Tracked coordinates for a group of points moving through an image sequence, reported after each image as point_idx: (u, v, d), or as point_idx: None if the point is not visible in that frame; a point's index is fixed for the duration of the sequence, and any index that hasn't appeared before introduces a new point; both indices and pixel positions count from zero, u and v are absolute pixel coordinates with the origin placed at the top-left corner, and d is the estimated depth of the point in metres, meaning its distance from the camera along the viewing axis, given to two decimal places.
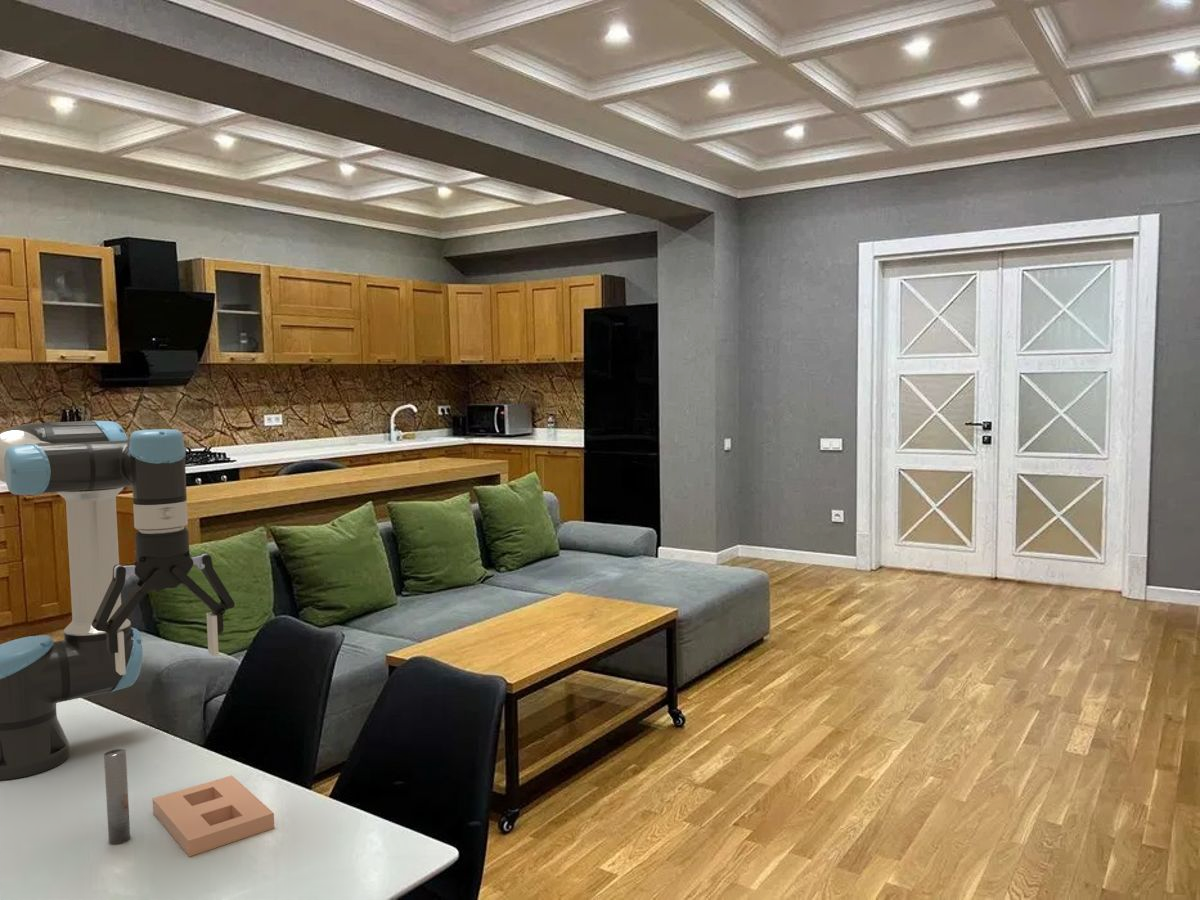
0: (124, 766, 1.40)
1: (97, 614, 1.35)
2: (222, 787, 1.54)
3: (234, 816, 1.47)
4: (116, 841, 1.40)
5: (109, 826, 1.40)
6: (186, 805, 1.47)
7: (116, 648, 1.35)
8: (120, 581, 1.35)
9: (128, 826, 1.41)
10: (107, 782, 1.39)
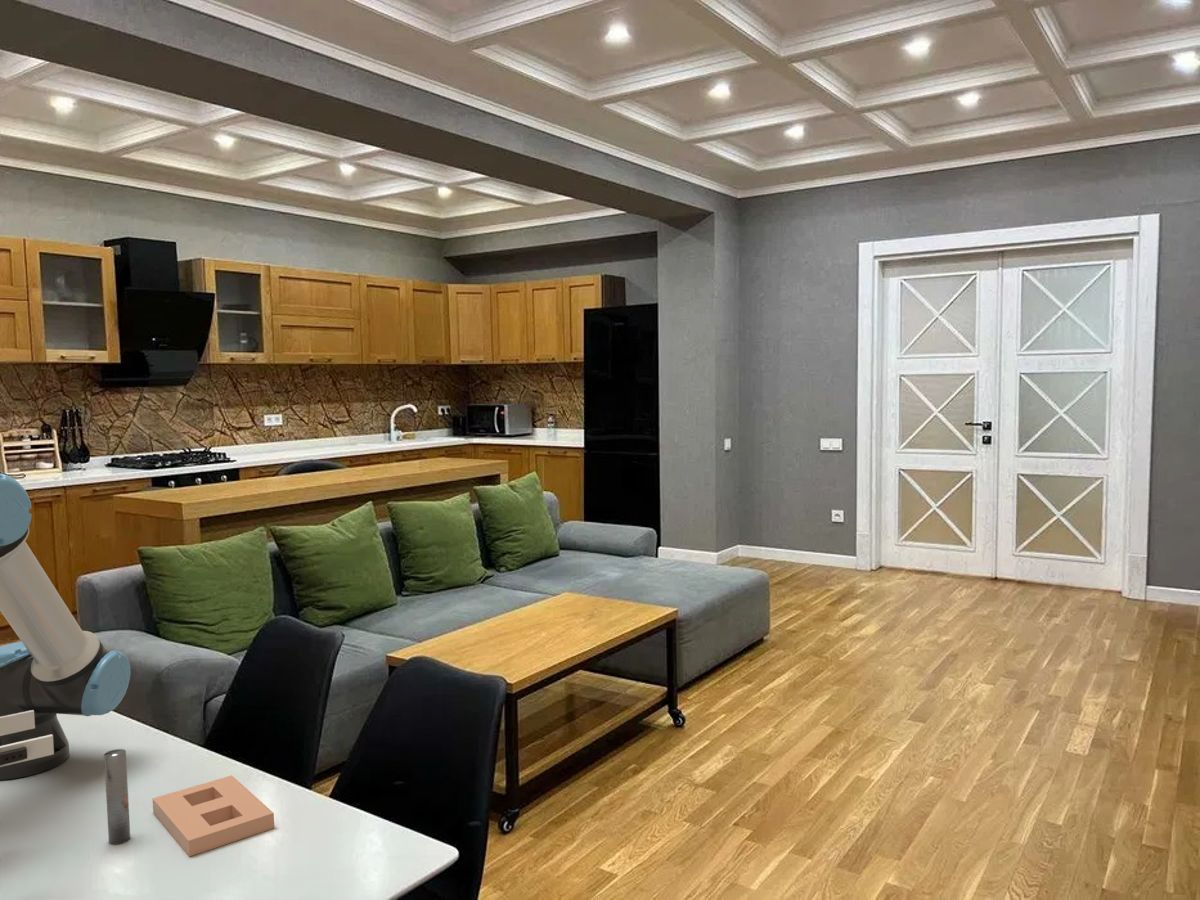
0: (124, 766, 1.40)
1: None
2: (222, 787, 1.54)
3: (234, 816, 1.47)
4: (116, 841, 1.40)
5: (109, 826, 1.40)
6: (186, 805, 1.47)
7: None
8: None
9: (128, 826, 1.41)
10: (107, 782, 1.39)
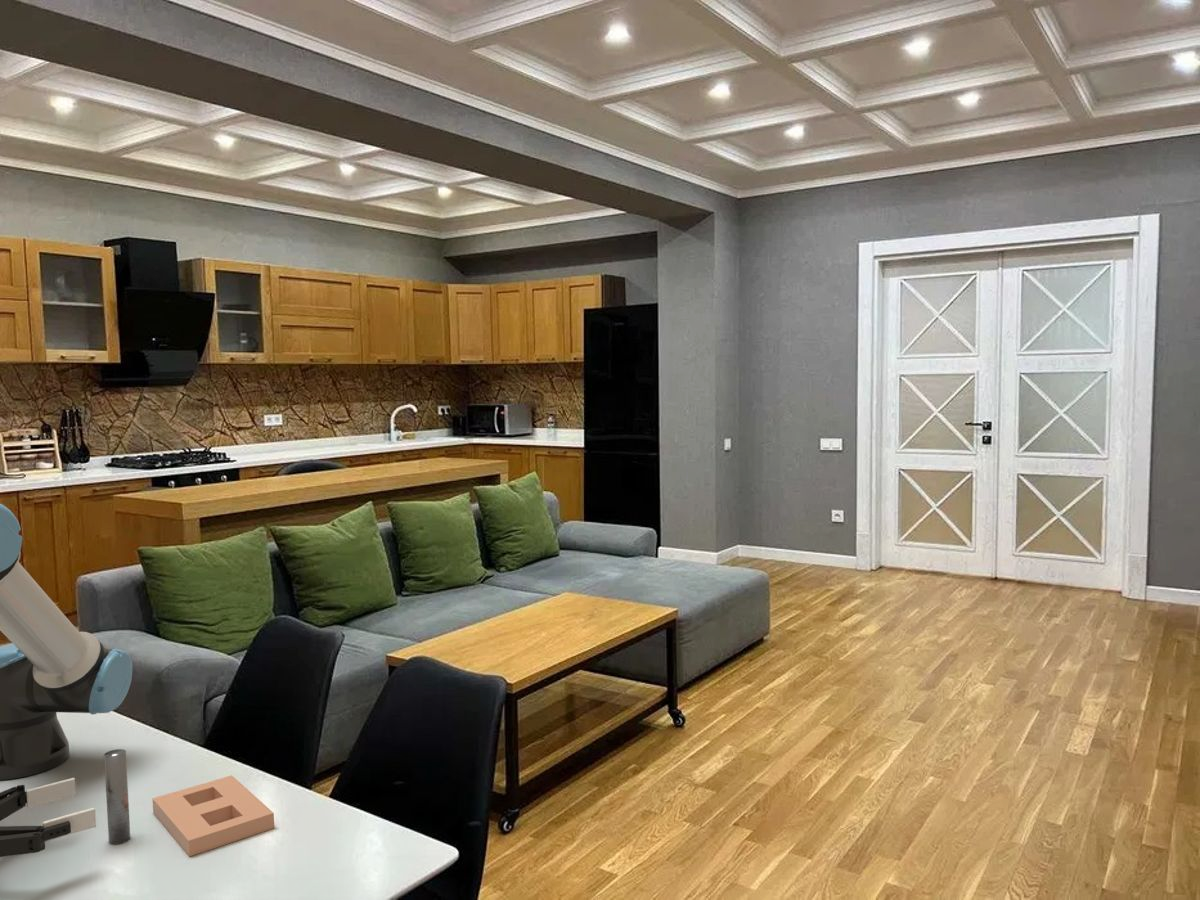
0: (124, 766, 1.40)
1: None
2: (222, 787, 1.54)
3: (234, 816, 1.47)
4: (116, 841, 1.40)
5: (109, 826, 1.40)
6: (186, 805, 1.47)
7: None
8: None
9: (128, 826, 1.41)
10: (107, 782, 1.39)
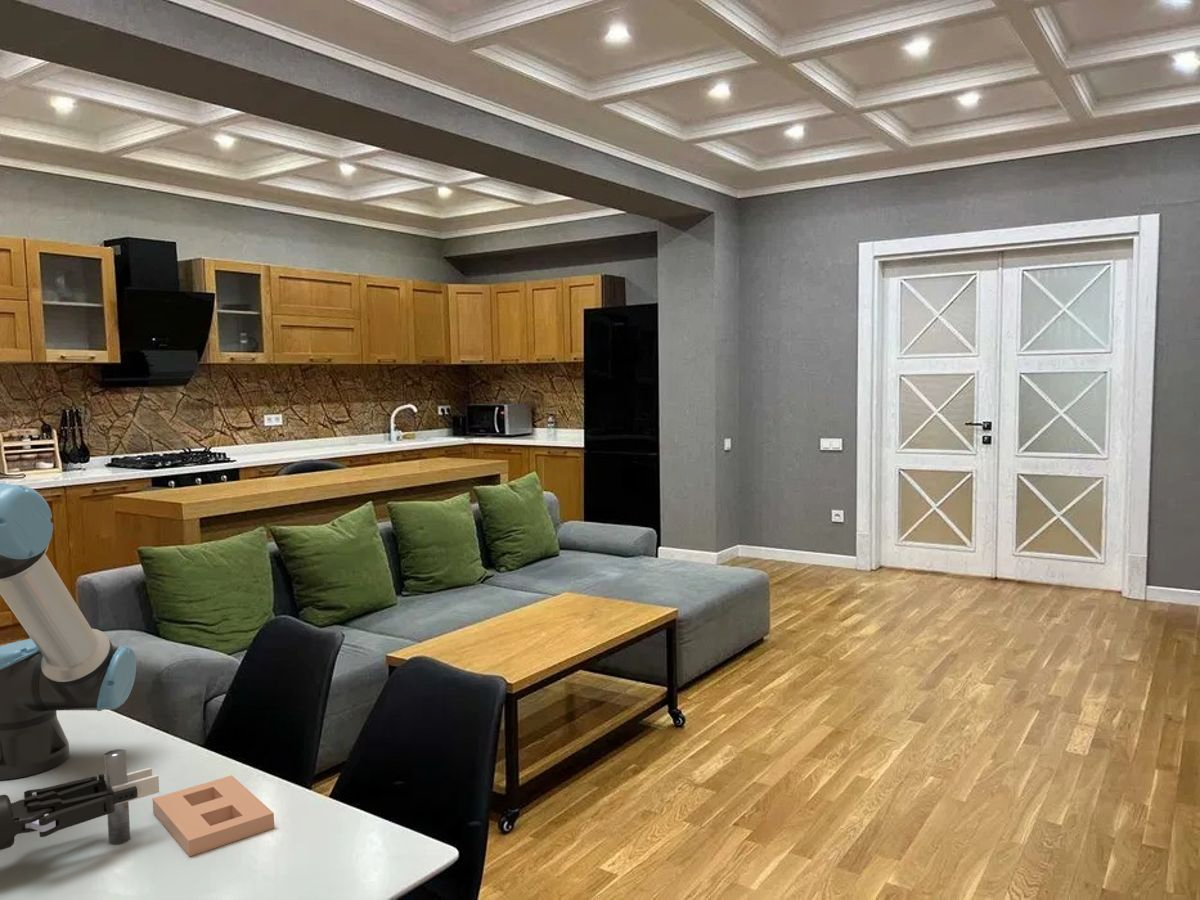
0: (124, 766, 1.40)
1: None
2: (222, 787, 1.54)
3: (234, 816, 1.47)
4: (116, 841, 1.40)
5: (109, 826, 1.40)
6: (186, 805, 1.47)
7: None
8: None
9: (128, 826, 1.41)
10: (107, 782, 1.39)
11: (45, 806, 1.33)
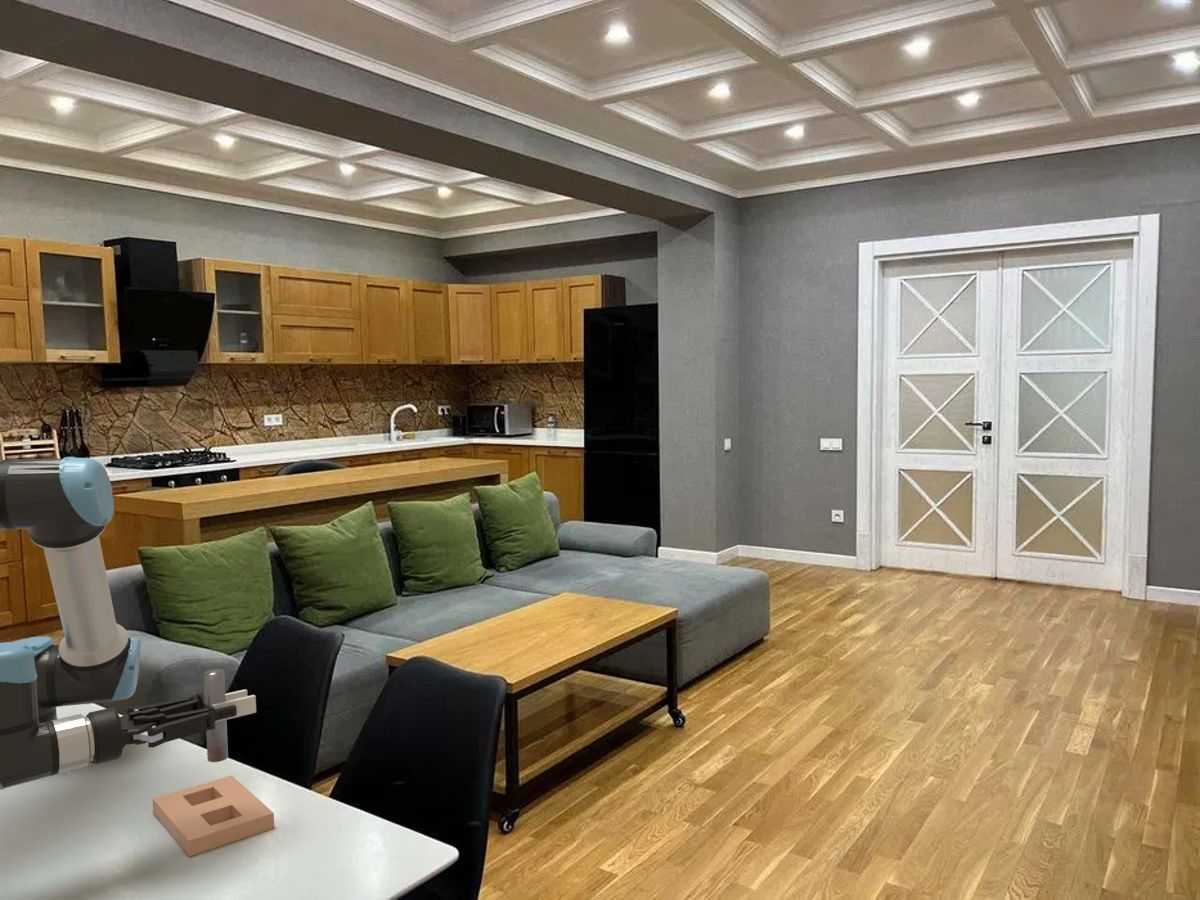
0: (223, 685, 1.42)
1: None
2: (222, 787, 1.54)
3: (234, 816, 1.47)
4: (215, 759, 1.41)
5: (208, 744, 1.41)
6: (186, 805, 1.47)
7: None
8: None
9: (226, 745, 1.43)
10: (207, 700, 1.41)
11: (150, 720, 1.34)
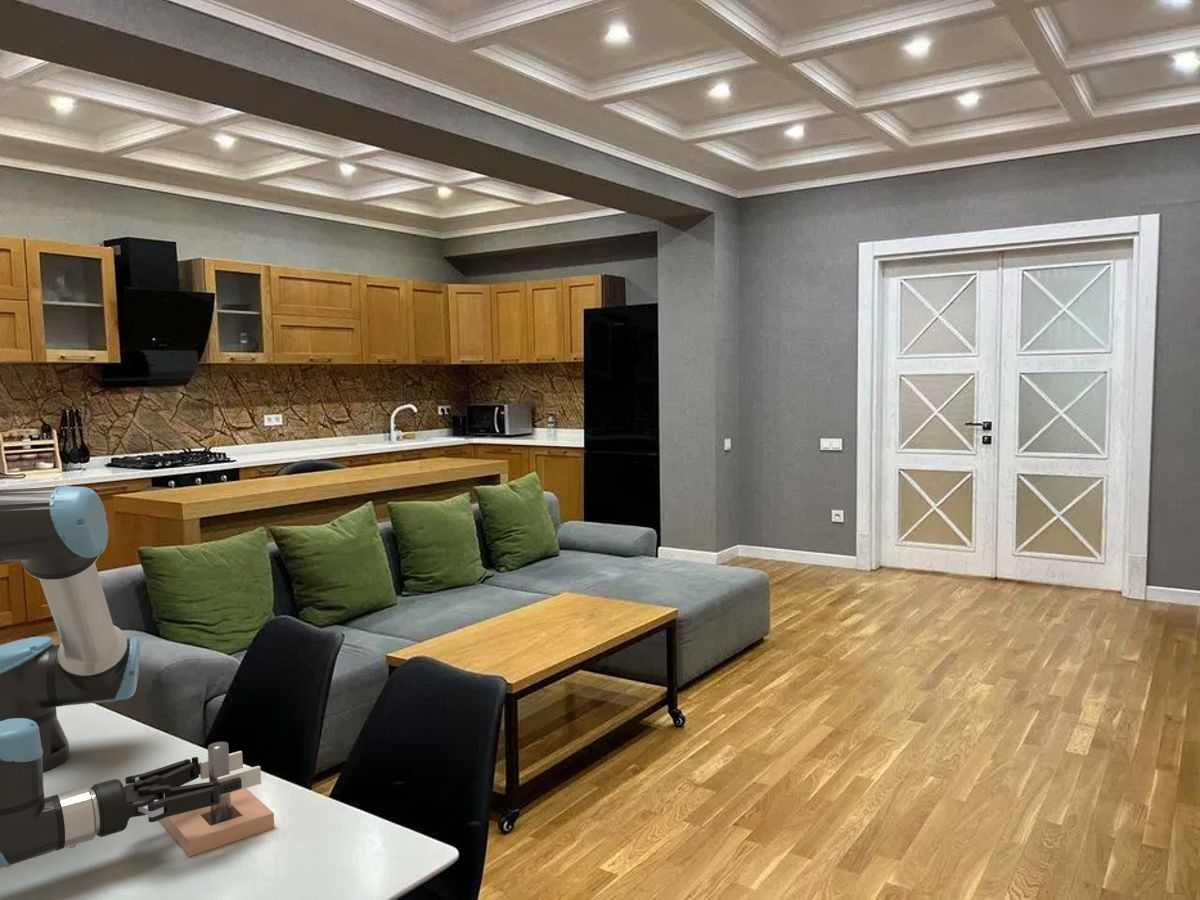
0: (227, 759, 1.43)
1: None
2: None
3: (234, 816, 1.47)
4: None
5: (212, 817, 1.42)
6: None
7: None
8: None
9: (230, 817, 1.44)
10: (211, 774, 1.42)
11: (154, 792, 1.35)
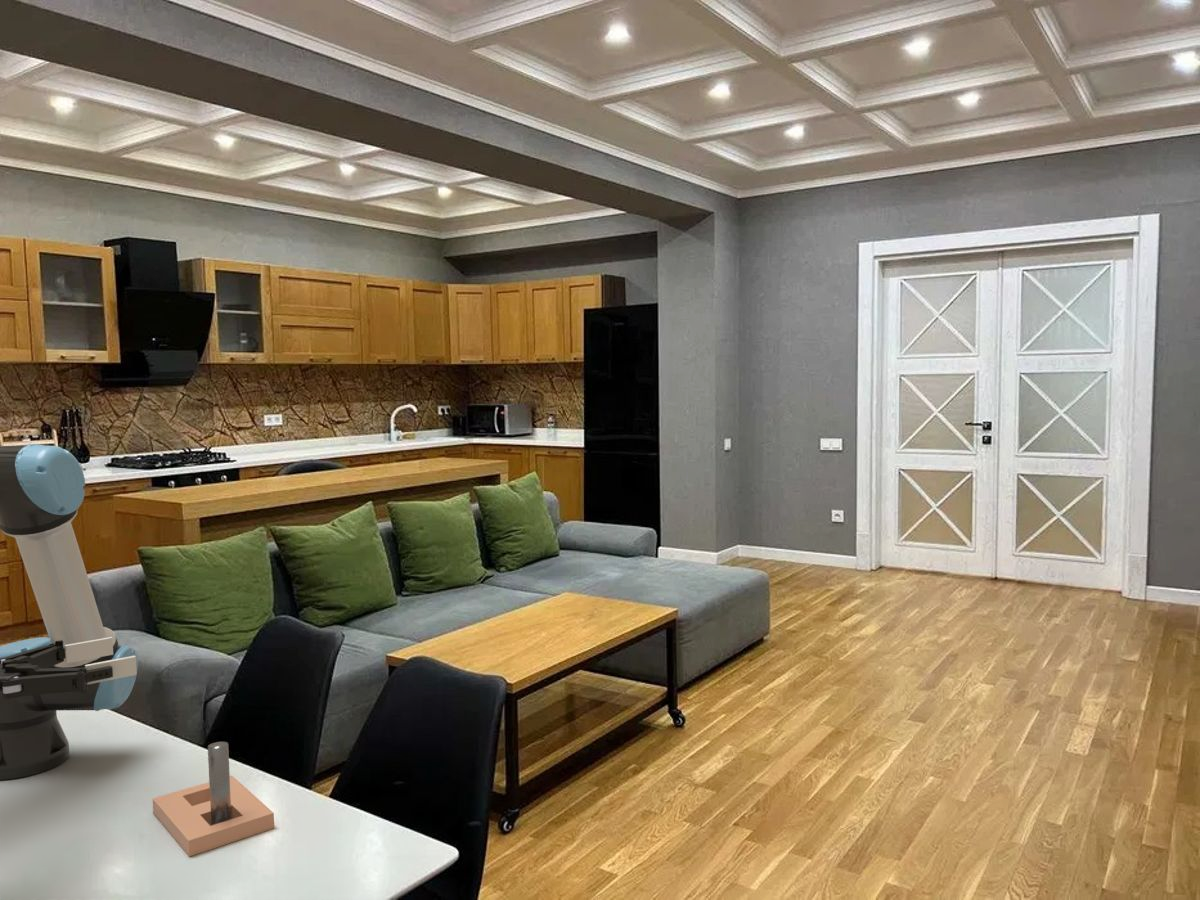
0: (227, 758, 1.43)
1: None
2: None
3: (234, 816, 1.47)
4: None
5: (212, 817, 1.42)
6: (186, 805, 1.47)
7: None
8: None
9: (230, 817, 1.44)
10: (211, 774, 1.42)
11: (19, 670, 1.26)
